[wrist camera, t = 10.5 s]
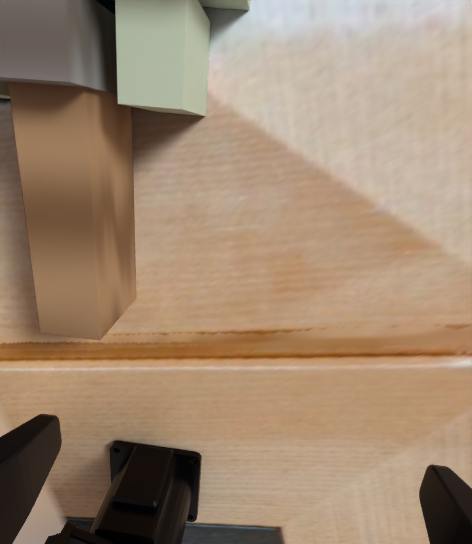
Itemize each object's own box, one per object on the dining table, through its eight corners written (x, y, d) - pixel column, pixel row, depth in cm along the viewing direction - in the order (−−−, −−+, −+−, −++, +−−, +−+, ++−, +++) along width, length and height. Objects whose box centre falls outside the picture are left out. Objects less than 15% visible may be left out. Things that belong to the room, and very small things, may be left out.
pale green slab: (240, 119, 18) (221, 109, 12) (-27, 95, 19) (-181, 74, 13) (252, -22, 16) (237, -127, 10) (-47, -41, 17) (-243, -150, 11)
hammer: (140, 298, 22) (90, 358, 16) (84, 292, 23) (15, 349, 17) (134, 30, 18) (61, -26, 12) (64, 26, 18) (-45, -32, 12)
